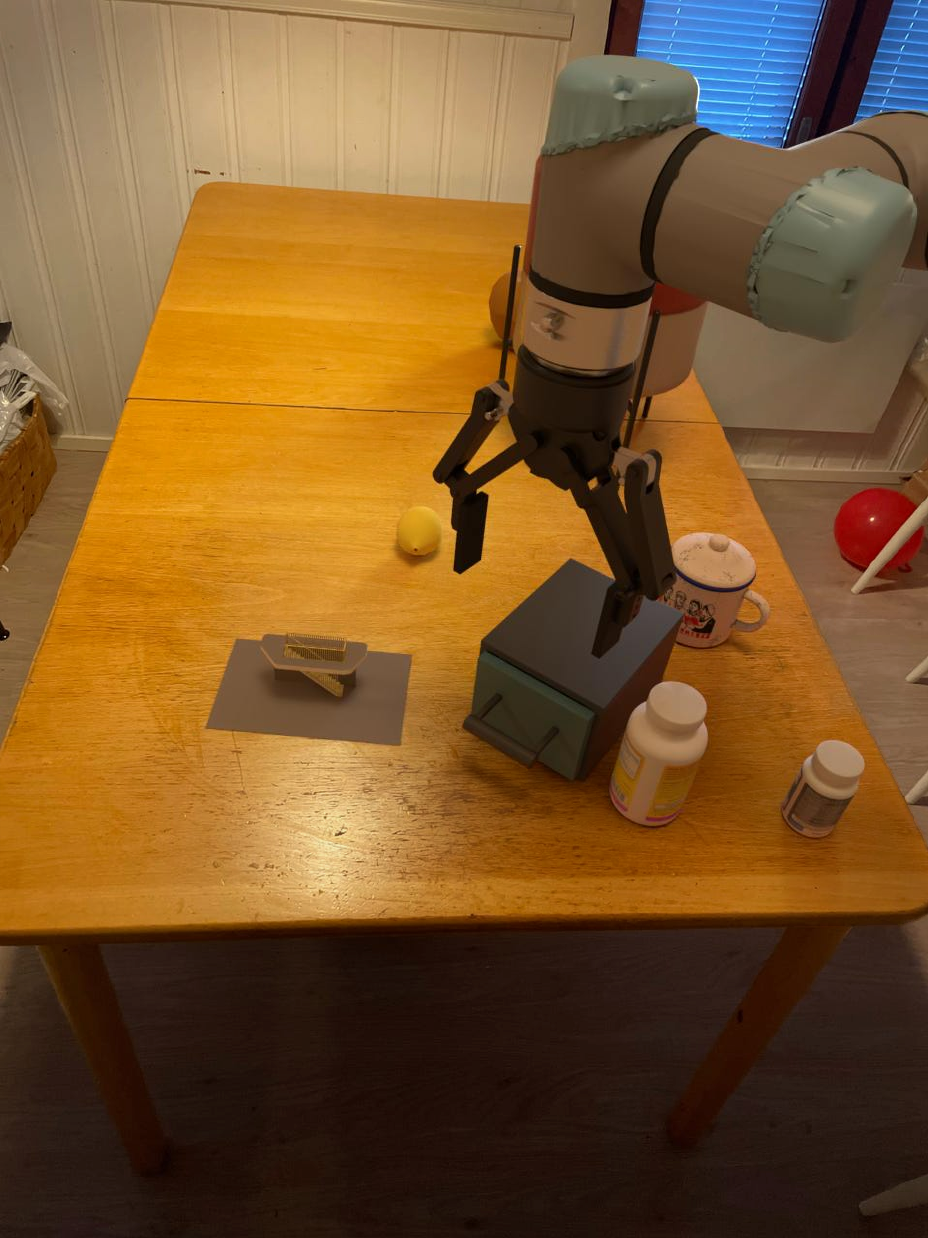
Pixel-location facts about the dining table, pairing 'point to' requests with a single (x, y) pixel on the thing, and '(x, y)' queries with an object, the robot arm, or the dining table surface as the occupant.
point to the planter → (664, 339)
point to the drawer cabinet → (587, 650)
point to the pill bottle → (823, 788)
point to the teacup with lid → (712, 588)
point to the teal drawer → (528, 717)
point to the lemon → (419, 530)
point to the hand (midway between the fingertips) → (533, 605)
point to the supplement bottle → (660, 754)
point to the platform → (313, 689)
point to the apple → (503, 303)
